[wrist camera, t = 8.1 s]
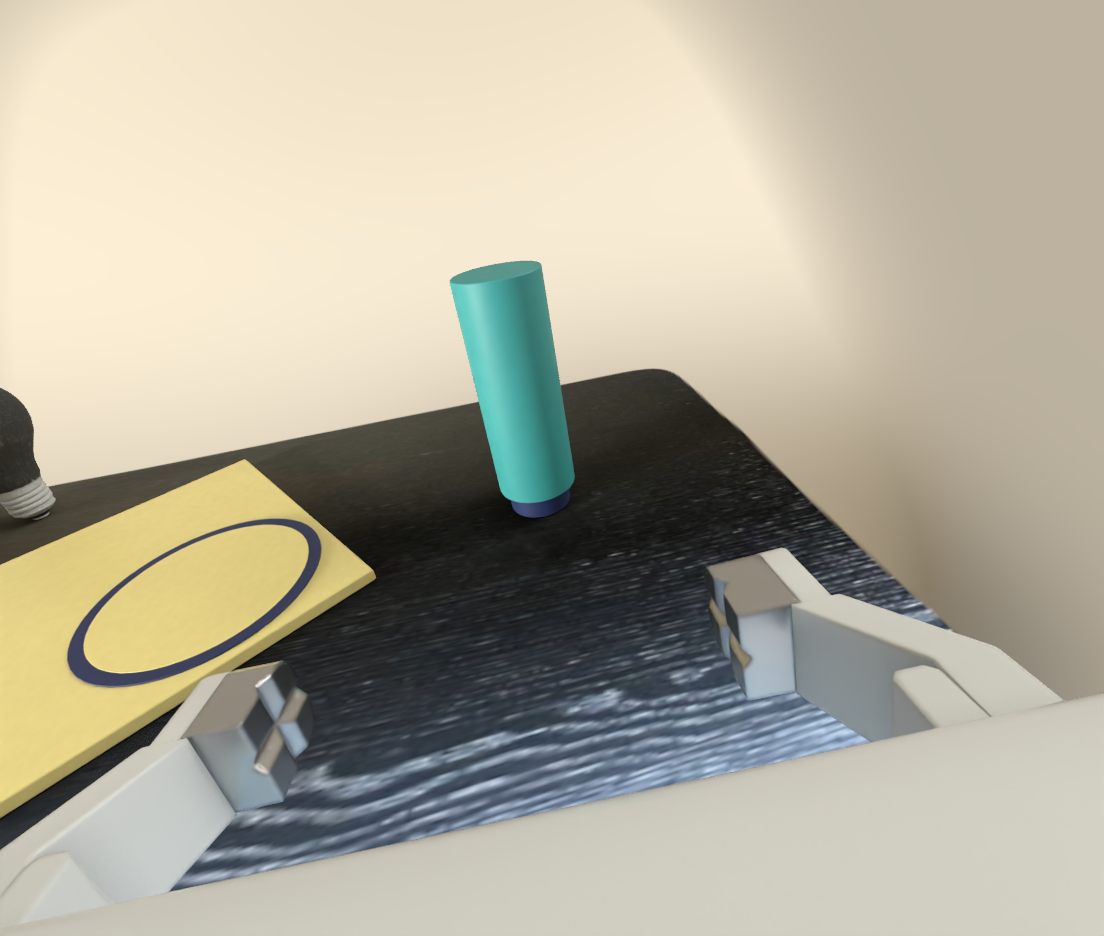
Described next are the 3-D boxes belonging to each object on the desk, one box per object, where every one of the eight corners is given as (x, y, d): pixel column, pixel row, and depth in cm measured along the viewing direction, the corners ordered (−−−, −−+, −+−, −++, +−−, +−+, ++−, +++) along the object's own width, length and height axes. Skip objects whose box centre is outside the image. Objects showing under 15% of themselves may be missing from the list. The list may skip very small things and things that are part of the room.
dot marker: (490, 506, 29) (431, 281, 23) (542, 473, 31) (501, 260, 25) (539, 532, 26) (487, 285, 20) (592, 493, 28) (560, 260, 22)
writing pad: (-141, 637, 28) (-153, 627, 27) (248, 465, 39) (244, 457, 38) (-281, 998, 14) (-306, 988, 14) (377, 578, 25) (372, 567, 25)
